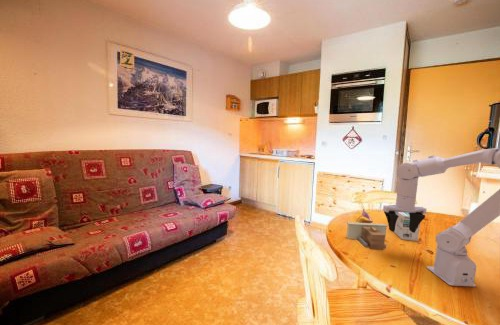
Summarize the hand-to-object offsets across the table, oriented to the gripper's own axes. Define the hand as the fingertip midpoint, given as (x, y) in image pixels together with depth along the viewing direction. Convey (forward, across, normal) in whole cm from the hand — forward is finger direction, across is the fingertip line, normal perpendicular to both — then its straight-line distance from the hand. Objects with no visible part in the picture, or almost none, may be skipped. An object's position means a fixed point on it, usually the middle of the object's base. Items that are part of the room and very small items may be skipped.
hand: (401, 231), depth 84 cm
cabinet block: (+10, +6, -8) cm, 14 cm away
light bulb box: (+10, -14, -18) cm, 25 cm away
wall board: (+9, +6, -9) cm, 15 cm away
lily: (+10, -4, -32) cm, 34 cm away
